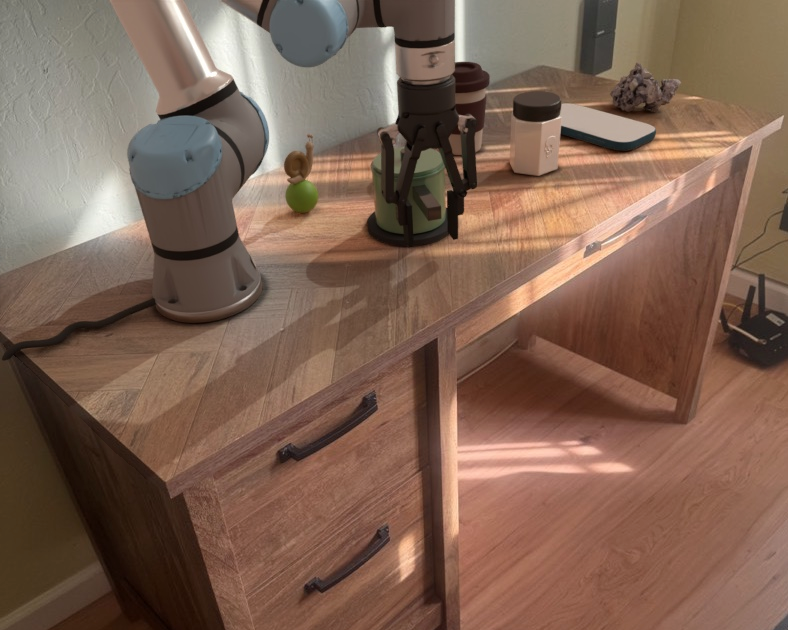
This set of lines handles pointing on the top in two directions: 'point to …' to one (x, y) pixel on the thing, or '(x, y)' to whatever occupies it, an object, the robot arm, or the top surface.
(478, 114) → the coffee cup
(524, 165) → the jar
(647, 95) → the mineral specimen
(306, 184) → the snail figurine
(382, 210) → the pot
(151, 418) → the top surface
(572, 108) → the external hard drive
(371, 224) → the trivet
